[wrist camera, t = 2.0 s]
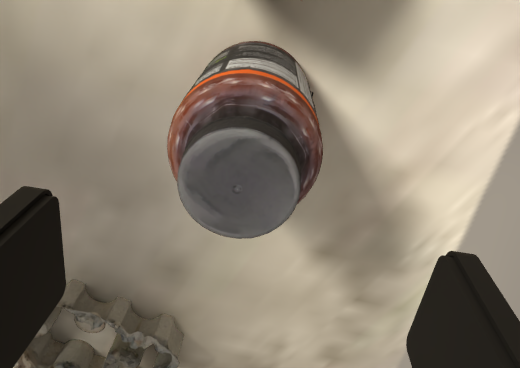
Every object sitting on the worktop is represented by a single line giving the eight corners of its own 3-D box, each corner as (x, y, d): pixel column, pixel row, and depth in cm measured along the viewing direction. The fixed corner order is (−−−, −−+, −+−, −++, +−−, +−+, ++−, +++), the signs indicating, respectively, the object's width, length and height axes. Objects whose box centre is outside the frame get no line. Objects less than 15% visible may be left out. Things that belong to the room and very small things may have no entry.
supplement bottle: (277, 161, 25) (274, 291, 15) (184, 115, 24) (117, 222, 14) (330, 71, 23) (369, 156, 13) (230, 16, 22) (187, 61, 12)
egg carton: (32, 329, 33) (1, 374, 30) (60, 262, 30) (29, 303, 26) (158, 380, 35) (143, 428, 32) (197, 322, 32) (186, 368, 28)
